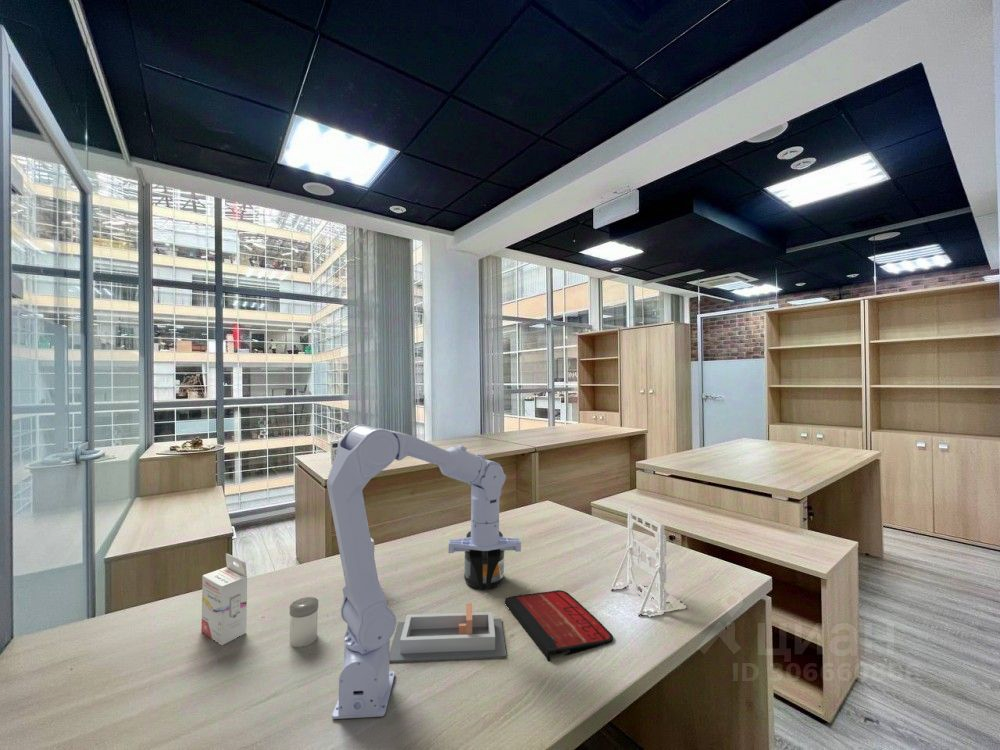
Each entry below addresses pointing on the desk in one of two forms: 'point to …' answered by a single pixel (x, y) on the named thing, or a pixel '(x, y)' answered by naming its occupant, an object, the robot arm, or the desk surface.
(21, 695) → the desk surface
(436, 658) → the base
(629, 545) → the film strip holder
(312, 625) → the jar
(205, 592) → the ink cartridge box
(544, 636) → the binder
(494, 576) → the supplement container
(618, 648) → the desk surface
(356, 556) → the robot arm
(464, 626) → the pusher
